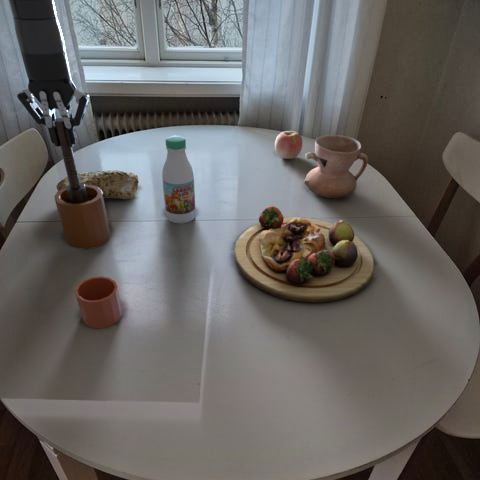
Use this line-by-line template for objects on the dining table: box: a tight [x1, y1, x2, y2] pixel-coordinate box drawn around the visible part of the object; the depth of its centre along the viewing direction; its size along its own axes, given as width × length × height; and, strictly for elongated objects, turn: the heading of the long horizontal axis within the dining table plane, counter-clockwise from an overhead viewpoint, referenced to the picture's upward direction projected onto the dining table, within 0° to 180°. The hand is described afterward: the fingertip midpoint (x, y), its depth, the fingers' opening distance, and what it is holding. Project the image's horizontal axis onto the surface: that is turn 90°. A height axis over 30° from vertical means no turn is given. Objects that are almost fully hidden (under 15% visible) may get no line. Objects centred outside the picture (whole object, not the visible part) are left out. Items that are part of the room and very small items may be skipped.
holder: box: [74, 275, 123, 329], centre depth 81 cm, size 7×8×7 cm
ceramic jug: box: [304, 134, 369, 199], centre depth 120 cm, size 18×14×14 cm
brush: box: [54, 117, 88, 204], centre depth 91 cm, size 4×4×19 cm
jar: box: [54, 184, 112, 250], centre depth 100 cm, size 10×10×11 cm
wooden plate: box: [233, 205, 375, 303], centre depth 97 cm, size 32×32×8 cm
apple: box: [274, 130, 303, 160], centre depth 140 cm, size 9×9×8 cm
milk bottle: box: [161, 135, 196, 224], centre depth 105 cm, size 8×8×20 cm
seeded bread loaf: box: [55, 170, 140, 200], centre depth 116 cm, size 13×8×20 cm
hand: (65, 145), depth 88 cm, fingers closed on brush, 2 cm apart
